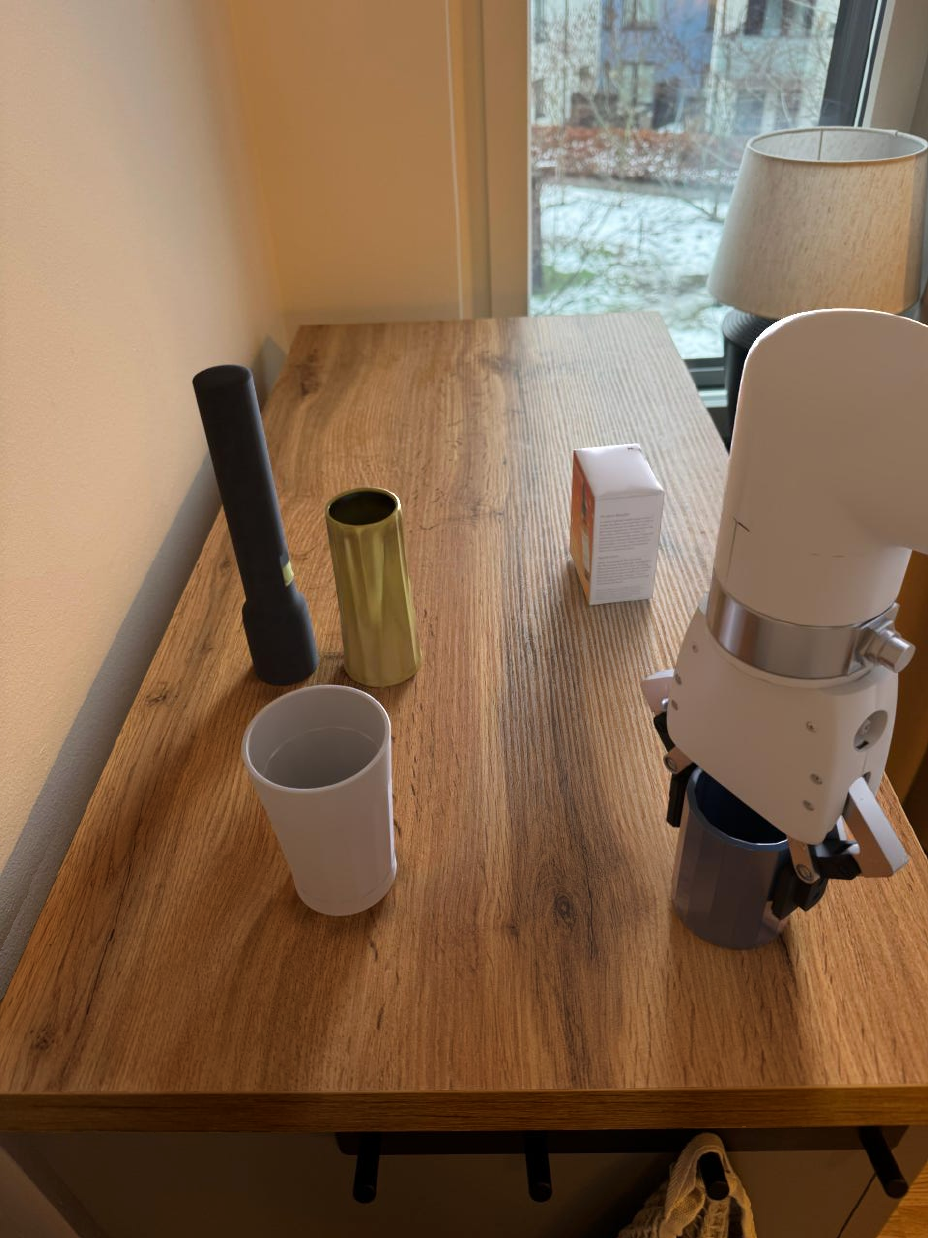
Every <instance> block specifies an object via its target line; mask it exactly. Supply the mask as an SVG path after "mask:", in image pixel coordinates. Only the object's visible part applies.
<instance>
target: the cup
mask: <svg viewBox="0 0 928 1238" xmlns="http://www.w3.org/2000/svg"><path fill="white" fill-rule="evenodd" d="M391 728H392V727H391V721H390V718H389V716H388V714H387V712H386V710H385V709H384V707H383V706H382V705H381V703H380V702H379V701H378V700H376V698H374V697H373V696H371V695H370V694H368V693H366V692H364V691H362V690H359V689H356V688H354V687H351V686H345V685H337V684H319V685H311V686H307V687H303V688H299V689H295V690H292V691H290V692H287V693H285V694H283V695H281V696H278V697H277V698H275V699H274V700H272V701H271V702H269V703H268V704H266V705H265V706H263V708H262V709H260V710H259V711H258V712H257V713H256V714H255V715H254V716H253V718H252V719H251V721H250V722H249V724H247V727H246V728H245V731H244V733H243V736H242V739H241V746H240V747H241V748H240V752H241V753H240V754H241V758H242V762H243V764H244V768H245V769H246V772H247V774H248V776H249V778H250V781H251V782H252V785H253V788H254V790H255V792H256V793H257V796H258V798H259V801H260V803H261V804H262V807H263V808H264V810H265V812H266V815H267V817H268V819H269V821H270V824H271V827H272V829H273V832H274V834H275V837H276V839H277V841H278V844H279V846H280V848H281V850H282V853H283V855H284V858H285V861H286V863H287V865H288V868H289V870H290V873H291V877H292V881H293V884H294V888H295V891H296V893H297V895H298V897H299V899H300V900H301V901H302V903H304V905H305V906H306V907H308V908H309V909H310V910H313V911H315V912H317V913H320V914H322V915H326V916H333V917H342V916H343V917H347V916H351V915H355V914H356V915H357V914H359V913H361V912H364V911H366V910H368V909H370V908H372V907H373V906H375V905H377V904H378V903H379V902H380V901H382V899H384V897H385V896H386V895H387V894H388V892H389V891H390V890H391V888H392V886H393V885H394V882H395V879H396V875H397V870H398V869H397V868H398V867H397V857H396V852H395V836H394V809H393V807H394V806H393V786H392V785H393V784H392V782H393V781H392V729H391Z"/></svg>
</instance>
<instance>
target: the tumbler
mask: <svg viewBox="0 0 928 1238" xmlns="http://www.w3.org/2000/svg"><path fill="white" fill-rule="evenodd" d="M678 830H679V831H678V836H677V843H676V849H675V856H674V862H673V869H672V874H671V881H670V884H671V887H670V888H671V889H670V890H671V891H670V893H671V900H672V905H673V907H674V909H675V911H676V914H677V915H678V917H679V918H680V920H681V921H682V923H683V924H684V925H685V926H686V927H687V928H688V929H689V930H690V931H691V932H692V933H693V934H695V935H696V936H698V937H699V938H701V939H702V940H704V941H705V942H707V943H710V944H712V945H714V946H717V947H721V948H724V949H729V950H740V951H743V950H752V949H757V948H760V947H763V946H765V945H767V944H769V943H771V942H773V941H774V940H776V939H777V938H778V937H779V936H780V935H781V933H782V932H783V931H784V929H785V928H786V925H787V924H788V922H789V919H790V916H791V913H790V914H789V915H788V916H787V917H786V918H784V919H783V920H781V921H780V920H779V919H778V918H776V917H775V916H774V915H773V914H772V910H771V905H772V902H773V898H774V895H775V891H776V887H777V884H778V880H779V877H780V873H781V870H782V869H783V867H784V866H785V865H787V864H788V863H789V862H791V861H792V858H791V854H790V850H789V846H788V842H787V838H786V834H785V833H784V832H782V831H781V830H779V829H778V828H777V827H775V826H774V825H773V824H771V823H770V822H769V821H767V820H766V819H765V818H764V817H762V816H761V815H760V814H758V813H757V812H756V811H754V810H753V809H752V808H751V807H749V806H748V805H747V804H746V803H744V802H743V801H742V800H740V799H739V798H738V797H737V796H735V795H734V794H733V793H732V792H730V791H729V790H728V789H727V788H725V787H724V786H723V785H722V784H720V783H719V782H718V781H717V780H715V779H714V778H713V777H712V776H710V775H709V774H708V773H707V772H705V771H704V770H703V769H702V768H700V767H699V766H698V767H696V768H695V769H694V770H693V771H692V772H691V775H690V778H689V781H688V784H687V787H686V791H685V797H684V804H683V810H682V817H681V823H680V827H679V829H678Z"/></svg>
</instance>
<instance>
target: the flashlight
mask: <svg viewBox="0 0 928 1238" xmlns="http://www.w3.org/2000/svg"><path fill="white" fill-rule="evenodd" d="M253 376H254V375H253V372H252V371H251V369H250V368H248V367H246V366H243V365H239V364H232V363H231V364H219V365H214V366H210V367H207V368H205V369H202V370H201V371H199V372H197V373H196V374H195V375H194V376H193V378H192V380H191V382H192V383H191V384H192V387H193V392H194V396H195V400H196V403H197V407H198V411H199V416H200V419H201V424H202V427H203V430H204V431H203V432H204V435H205V436H204V437H205V439H206V444H207V448H208V452H209V455H210V460H211V465H212V467H213V471H214V476H215V480H216V484H217V488H218V492H219V497H220V500H221V503H222V509H223V512H224V516H225V521H226V525H227V528H228V532H229V536H230V540H231V544H232V549H233V552H234V556H235V561H236V564H237V568H238V572H239V577H240V581H241V584H242V588H243V592H244V597H245V601H244V603H243V604H242V607H241V619H242V624H243V629H244V633H245V638H246V643H247V647H248V650H249V654H250V657H251V661H252V665H253V669H254V672H255V675H256V677H257V678H258V679H259V680H260V681H261V682H263V683H265V684H267V685H269V686H276V687H284V686H285V687H286V686H291V685H292V686H293V685H296V684H298V683H300V682H303V681H304V680H306V679H308V678H309V677H310V676H312V675H313V674H314V673H315V672H316V669H317V668H318V666H319V664H320V663H319V662H320V658H319V653H318V647H317V642H316V638H315V632H314V627H313V623H312V619H311V614H310V610H309V605H308V602H307V600H306V597H305V596H304V594H303V593H302V592H301V591H300V590H298V589H297V586H296V583H295V578H294V576H295V574H294V571H293V567H292V564H291V559H290V553H289V548H288V544H287V538H286V534H285V530H284V525H283V524H284V523H283V519H282V515H281V509H280V505H279V504H280V503H279V499H278V495H277V490H276V485H275V480H274V475H273V470H272V466H271V461H270V455H269V452H268V446H267V441H266V440H267V439H266V436H265V431H264V426H263V420H262V416H261V412H260V407H259V406H260V405H259V402H258V396H257V392H256V386H255V382H254V377H253Z"/></svg>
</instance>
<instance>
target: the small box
mask: <svg viewBox="0 0 928 1238" xmlns="http://www.w3.org/2000/svg"><path fill="white" fill-rule="evenodd" d="M571 477H572V478H571V496H570V497H571V501H570V527H569V551H568V552H569V554H570V556H571V560H572V561H573V563H574V566H575V569H576V572H577V574H578V577H579V581H580V584H581V587H582V590H583V592H584V595H585V598H586V601H587V604H588V605H589V606H597V605H603V604H614V603H623V602H632V601H633V602H634V601H643V600H651V599H653V597H654V592H655V591H654V590H655V582H656V572H657V564H658V556H659V549H660V548H659V547H660V538H661V530H662V522H663V513H664V506H665V505H664V504H665V503H664V502H665V496H666V492H665V491H664V489H663V487H662V486H661V484H660V482H659V481H658V479H657V478H656V476H655V474H654V472H653V470H652V468H651V466H650V465H649V462H648V461H647V459H646V457H645V454H644V453H643V451H642V448H641V445H640V444H639V443H627V444H617V445H616V444H615V445H607V446H605V445H604V446H596V447H585V448H576V449H573V452H572V476H571Z"/></svg>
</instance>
